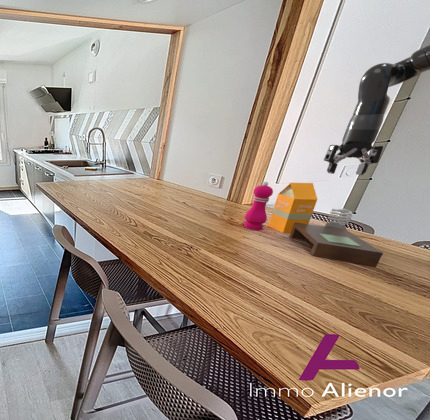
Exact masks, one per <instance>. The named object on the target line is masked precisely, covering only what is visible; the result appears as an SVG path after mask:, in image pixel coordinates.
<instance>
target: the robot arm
mask: <svg viewBox="0 0 430 420" xmlns="http://www.w3.org/2000/svg"><path fill="white" fill-rule="evenodd" d="M427 71H430V44H428V45H426V46H424V47H421V48H419V49H417V50H415V51H413V52H412V54H411V55H410V56H409V57H406V58H404V59H402V60H400V61H398V62H395V63H390V62H382V63H377V64H375V65H372V66H371V67H370V68H368V69H367V70H366V71H365V72H364V73H363V75H362V76H361V78H360V81H359V84H358V92H357V103H356V105H355V107H354V110H353V113H352V116H351V118H350V119H349V121H348V124H347V126H346V129H345V132H344V134H343V136H342V139H341V141H342V143H341V144H340V145H338V144H330V145H329V146H328V149H327V151H326V153H325V156H324V157H323V161H324V162H327V163H328V166H327V169H326V172H327V174H331V175H332V174H333V175H334V174H335V173H336V170H337V168H338V165H339V163H340V162H341V161H342V160H345V159H346V158H350V159H352V158H353V159H354V158H355V159H357V160H358V161H359V164H358V166H357V169H356V171H355V175H358V176H364V174H366V172H367V170H368V168H369V165H372V164H377V163H379V161H380V159H381V158H380V157H381V155H382V152H383V149H384V146H383V145H373V143H375V141H376V139H377V136H378V134H379V131H380V129H381V127H382V125H383V121H384V117H385V114H386V112H387V109H388V107H389V105H390V102H391V97H390V96H389V95H388V90H389V88H391V87H394V86H397V85H400V84H402V83H404V82H407V81H409V80H411V79H413V78H415V77H418V76H419V75H422V74H424V73H426V72H427ZM338 151H339V152H338ZM337 152H338V153H337ZM368 152H369V153H368Z"/></svg>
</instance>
